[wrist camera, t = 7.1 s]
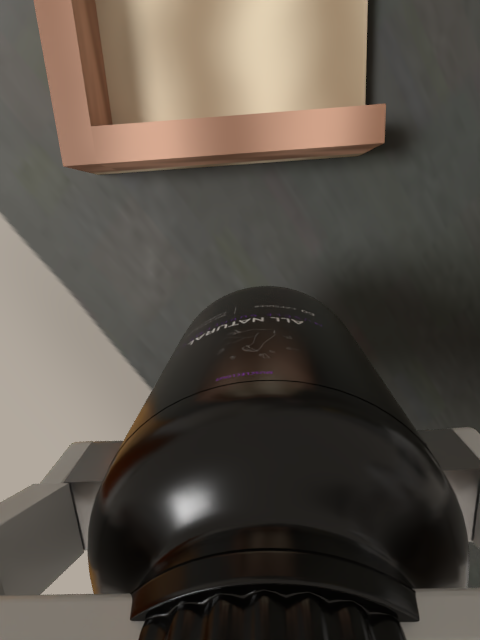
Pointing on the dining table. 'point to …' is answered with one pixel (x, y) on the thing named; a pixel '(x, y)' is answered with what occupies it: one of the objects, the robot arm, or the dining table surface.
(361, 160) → the dining table surface
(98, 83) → the open-sided tray
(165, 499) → the supplement bottle
